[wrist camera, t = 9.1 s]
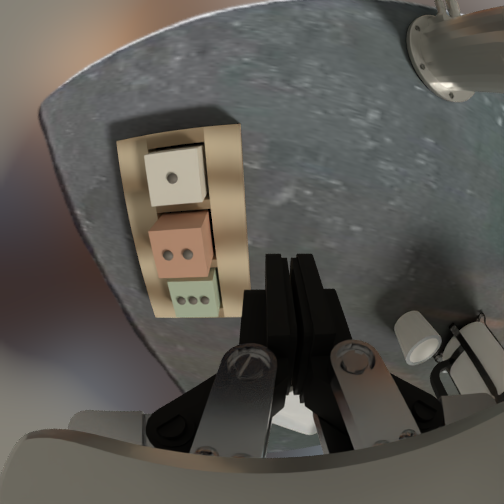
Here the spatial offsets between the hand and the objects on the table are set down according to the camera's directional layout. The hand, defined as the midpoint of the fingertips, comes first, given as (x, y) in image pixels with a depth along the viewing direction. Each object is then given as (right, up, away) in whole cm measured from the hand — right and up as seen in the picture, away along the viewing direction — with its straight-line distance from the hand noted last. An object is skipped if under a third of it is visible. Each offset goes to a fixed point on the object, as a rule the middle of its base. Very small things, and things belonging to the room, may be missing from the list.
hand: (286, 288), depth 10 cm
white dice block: (-9, +10, +19) cm, 23 cm away
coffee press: (+42, -17, +34) cm, 57 cm away
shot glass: (+26, -11, +30) cm, 41 cm away
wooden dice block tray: (-8, +4, +22) cm, 24 cm away
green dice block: (-8, -2, +25) cm, 27 cm away
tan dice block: (-8, +3, +20) cm, 22 cm away
